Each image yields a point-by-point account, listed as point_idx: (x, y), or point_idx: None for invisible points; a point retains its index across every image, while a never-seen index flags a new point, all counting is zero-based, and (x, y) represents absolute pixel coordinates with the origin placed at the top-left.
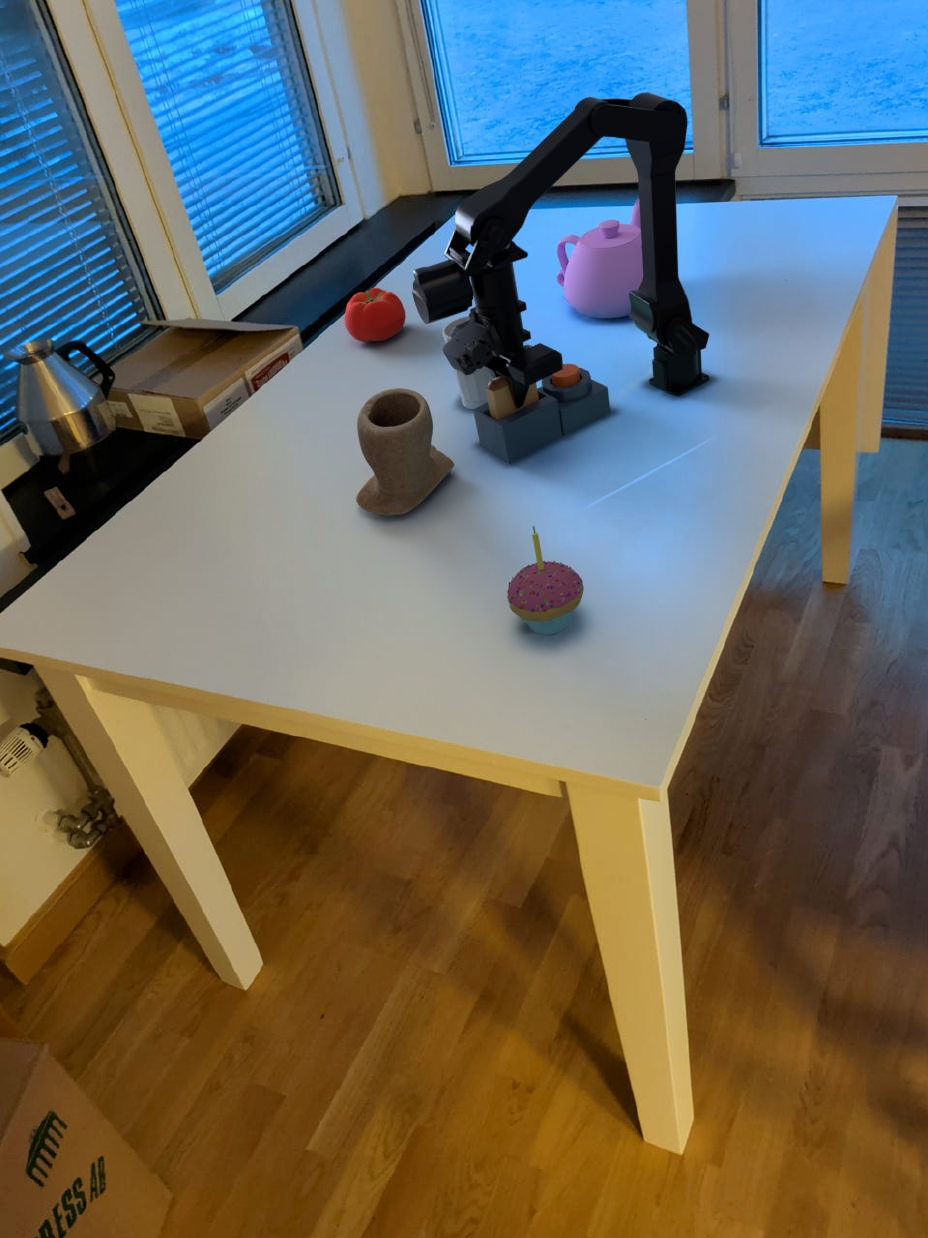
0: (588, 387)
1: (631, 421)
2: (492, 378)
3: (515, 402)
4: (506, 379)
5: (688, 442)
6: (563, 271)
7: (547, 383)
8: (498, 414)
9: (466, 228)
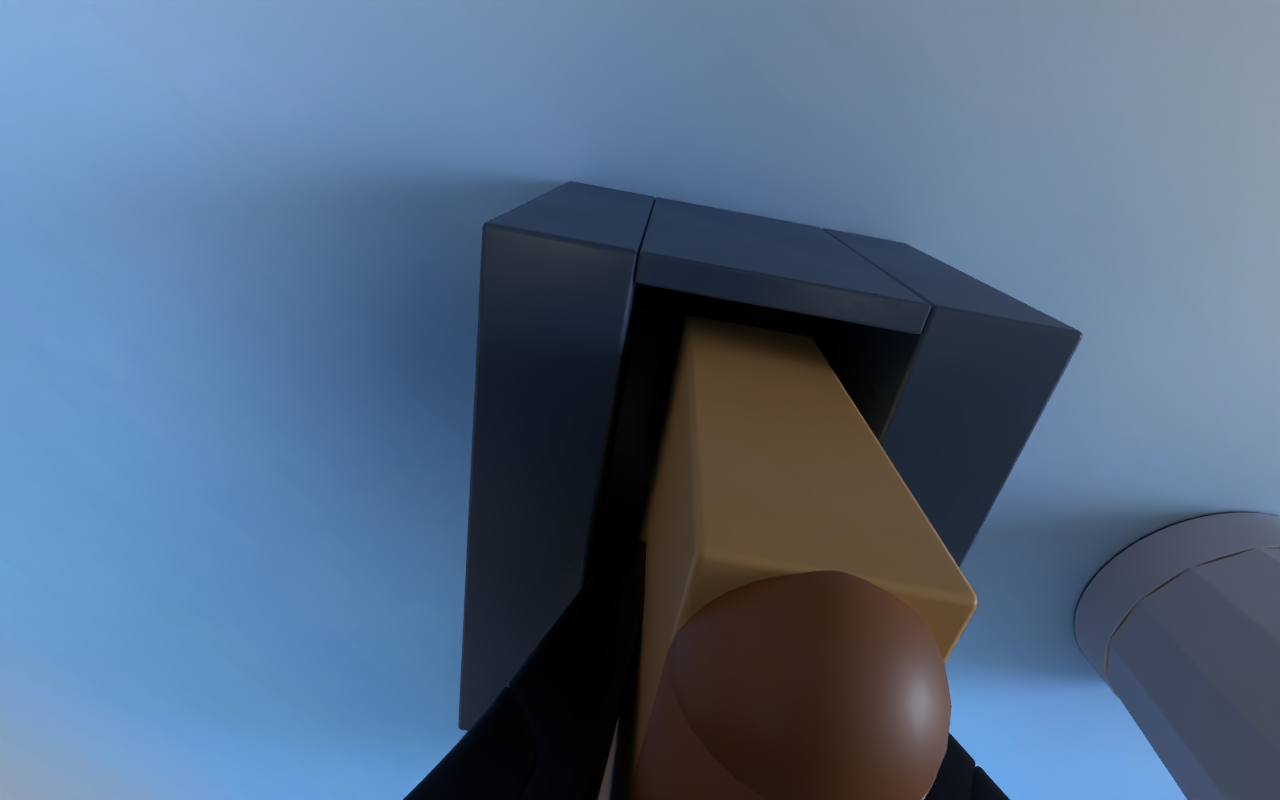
0: None
1: (382, 708)
2: (1202, 751)
3: (597, 572)
4: None
5: (95, 685)
6: None
7: None
8: (686, 371)
9: None
